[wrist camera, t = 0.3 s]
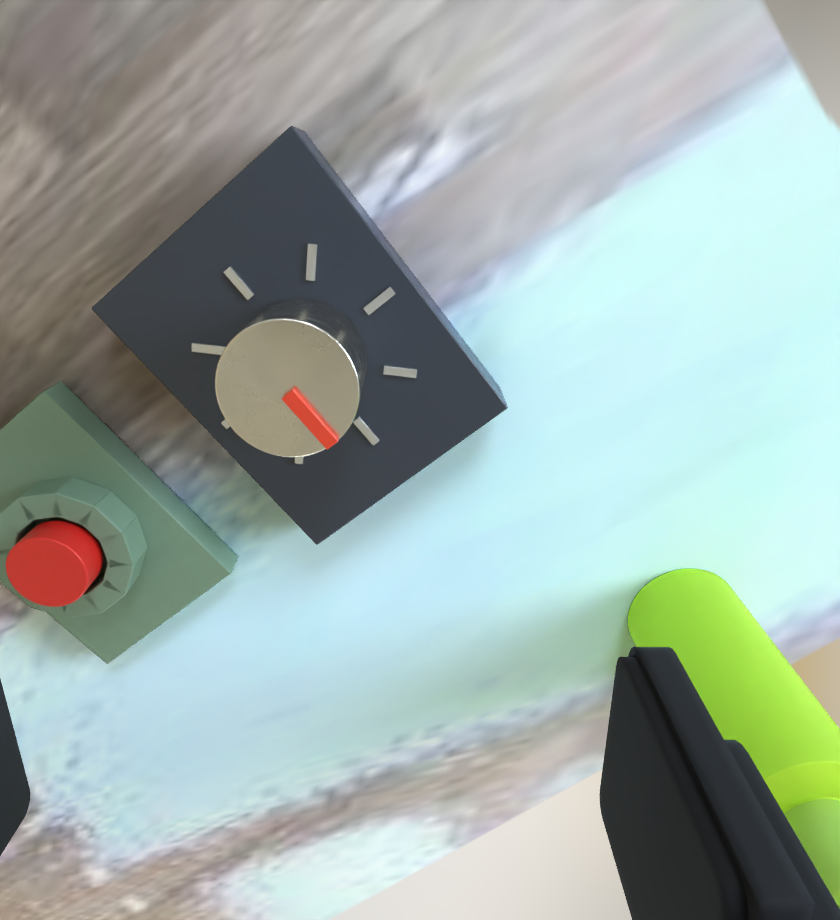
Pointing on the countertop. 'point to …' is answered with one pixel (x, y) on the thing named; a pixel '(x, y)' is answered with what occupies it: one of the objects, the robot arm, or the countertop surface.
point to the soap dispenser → (752, 701)
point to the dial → (293, 378)
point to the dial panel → (317, 277)
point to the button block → (104, 522)
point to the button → (54, 563)
